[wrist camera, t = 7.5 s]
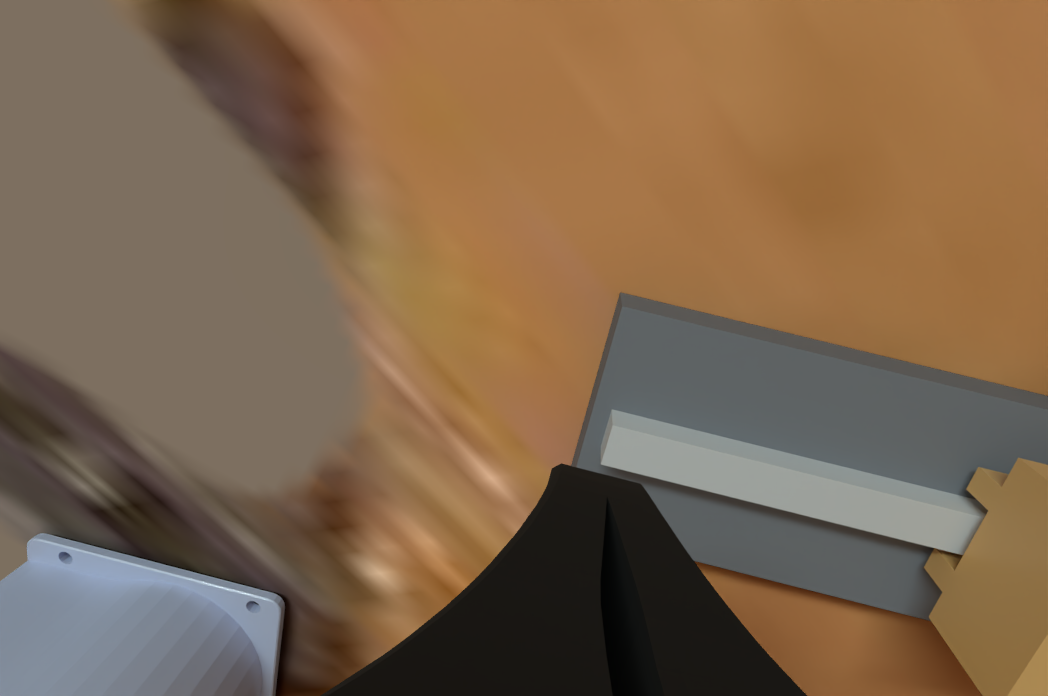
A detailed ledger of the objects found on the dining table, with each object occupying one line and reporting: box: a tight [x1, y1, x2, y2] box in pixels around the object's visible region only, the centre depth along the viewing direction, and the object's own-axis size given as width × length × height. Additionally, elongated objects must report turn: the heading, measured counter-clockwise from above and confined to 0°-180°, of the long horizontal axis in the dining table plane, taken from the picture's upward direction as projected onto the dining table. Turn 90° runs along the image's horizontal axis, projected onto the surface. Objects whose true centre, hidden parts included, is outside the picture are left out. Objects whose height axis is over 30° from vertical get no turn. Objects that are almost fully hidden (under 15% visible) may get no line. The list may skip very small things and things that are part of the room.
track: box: [571, 292, 1048, 621], centre depth 16 cm, size 16×7×5 cm, turn 77°
